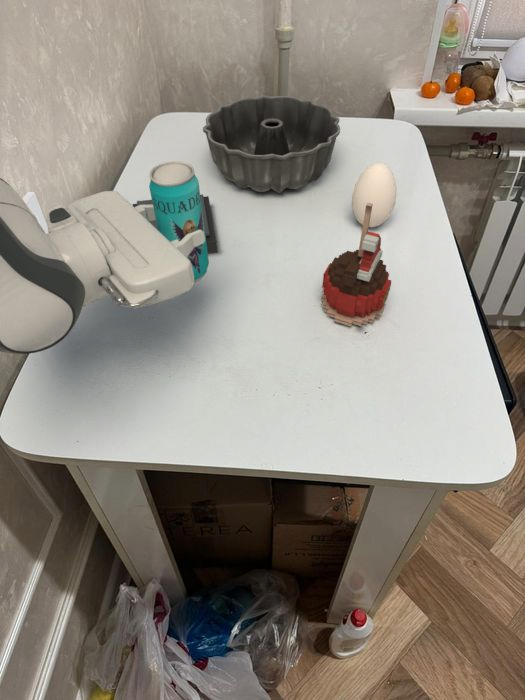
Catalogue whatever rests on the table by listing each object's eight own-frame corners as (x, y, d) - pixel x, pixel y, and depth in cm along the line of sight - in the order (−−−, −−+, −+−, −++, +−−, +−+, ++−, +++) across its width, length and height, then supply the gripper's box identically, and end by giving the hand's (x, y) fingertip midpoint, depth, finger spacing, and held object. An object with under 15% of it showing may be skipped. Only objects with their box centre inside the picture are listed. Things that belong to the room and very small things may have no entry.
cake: (335, 277, 81) (348, 176, 68) (391, 293, 79) (416, 191, 65) (310, 320, 75) (319, 218, 62) (370, 339, 72) (393, 237, 59)
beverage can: (185, 293, 66) (166, 190, 55) (159, 273, 69) (136, 172, 58) (218, 273, 68) (207, 171, 57) (192, 255, 71) (177, 154, 60)
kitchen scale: (135, 262, 85) (130, 245, 82) (135, 215, 94) (131, 198, 91) (217, 252, 86) (215, 235, 83) (209, 207, 95) (207, 190, 92)
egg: (344, 233, 89) (352, 172, 80) (353, 210, 94) (361, 150, 85) (386, 240, 88) (399, 179, 79) (392, 216, 92) (405, 156, 83)
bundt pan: (231, 133, 114) (228, 87, 107) (345, 147, 109) (351, 100, 102) (189, 195, 98) (182, 146, 90) (322, 215, 93) (326, 165, 85)
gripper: (115, 290, 50) (231, 238, 55) (42, 201, 61) (144, 165, 66) (129, 333, 54) (234, 282, 60) (59, 244, 66) (153, 207, 71)
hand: (186, 220), depth 63 cm, fingers closed on beverage can, 6 cm apart
